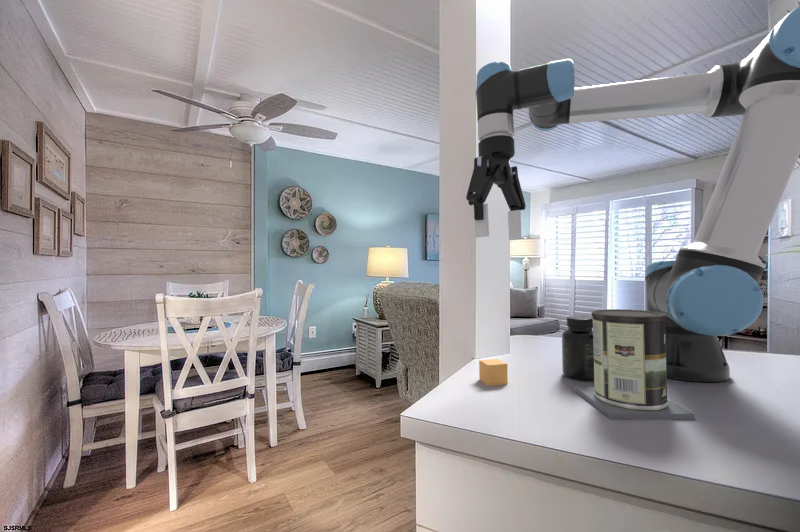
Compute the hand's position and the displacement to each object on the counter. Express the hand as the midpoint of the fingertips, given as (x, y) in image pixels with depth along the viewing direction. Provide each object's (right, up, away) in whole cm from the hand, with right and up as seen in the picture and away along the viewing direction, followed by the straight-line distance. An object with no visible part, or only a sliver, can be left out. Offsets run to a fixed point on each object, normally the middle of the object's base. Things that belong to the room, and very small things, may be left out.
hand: (499, 238), depth 78 cm
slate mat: (+16, -28, -19) cm, 38 cm away
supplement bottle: (+15, -29, -4) cm, 33 cm away
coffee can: (+16, -28, -19) cm, 37 cm away
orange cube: (-3, -29, -6) cm, 30 cm away
